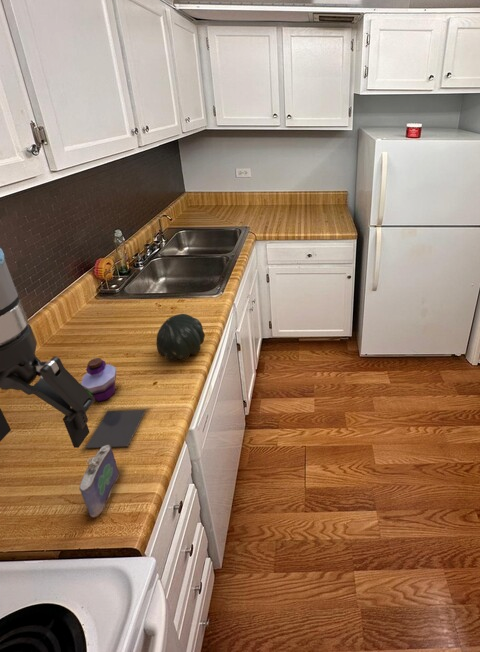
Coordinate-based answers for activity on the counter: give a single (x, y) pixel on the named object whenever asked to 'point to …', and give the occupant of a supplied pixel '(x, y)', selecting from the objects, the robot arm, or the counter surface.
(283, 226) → the counter surface
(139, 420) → the slate coaster
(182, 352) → the squash
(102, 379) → the potion bottle
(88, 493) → the flask
